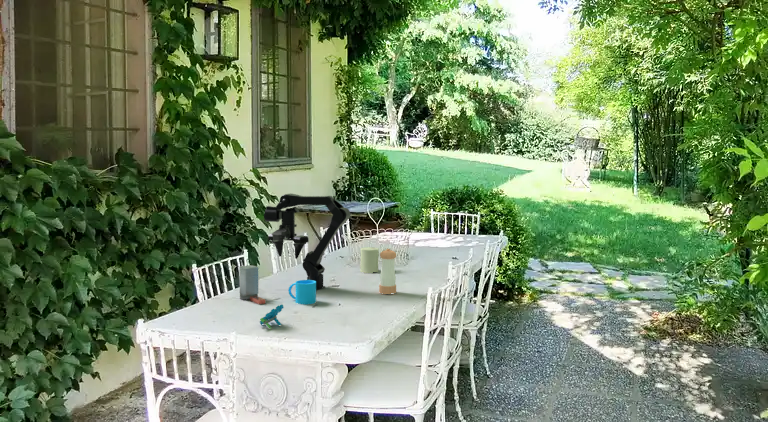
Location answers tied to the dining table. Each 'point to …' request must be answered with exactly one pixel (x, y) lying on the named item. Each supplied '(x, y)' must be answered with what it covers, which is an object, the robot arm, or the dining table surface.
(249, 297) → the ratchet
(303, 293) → the mug
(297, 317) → the dining table surface
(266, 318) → the teal plastic angular piece
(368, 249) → the can
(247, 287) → the grey blue box
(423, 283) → the dining table surface
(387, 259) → the salt shaker
